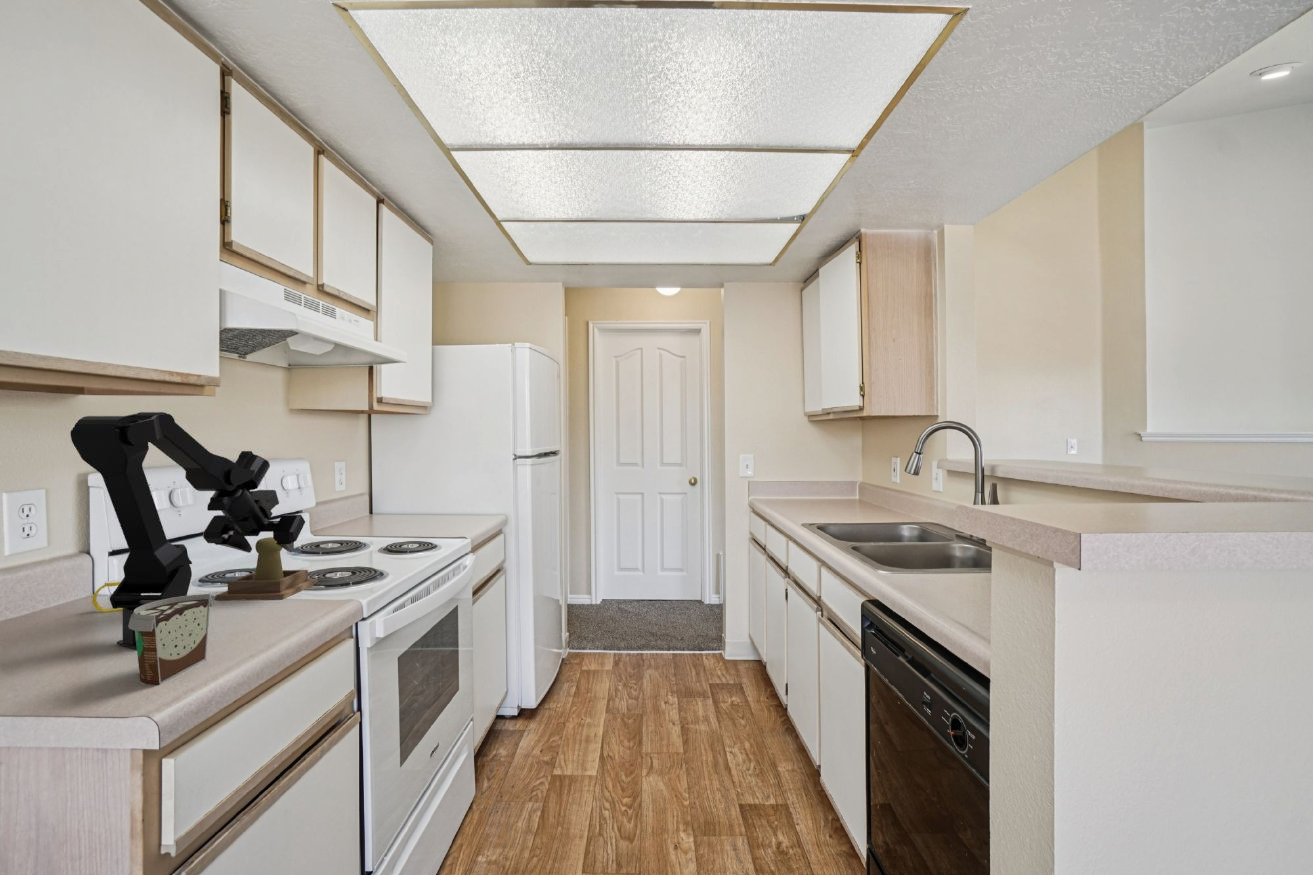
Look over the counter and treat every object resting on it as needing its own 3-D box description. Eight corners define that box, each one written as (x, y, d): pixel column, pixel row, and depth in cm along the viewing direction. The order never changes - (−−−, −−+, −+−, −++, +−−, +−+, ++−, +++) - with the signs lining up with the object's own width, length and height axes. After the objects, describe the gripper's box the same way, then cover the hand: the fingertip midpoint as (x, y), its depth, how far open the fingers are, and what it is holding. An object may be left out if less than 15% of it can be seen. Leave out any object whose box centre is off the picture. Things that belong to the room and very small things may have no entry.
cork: (247, 590, 129) (247, 540, 129) (261, 583, 135) (261, 535, 135) (276, 589, 130) (277, 539, 130) (290, 583, 136) (290, 535, 136)
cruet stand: (283, 599, 126) (283, 582, 126) (215, 599, 126) (215, 583, 126) (317, 583, 140) (317, 568, 140) (257, 583, 140) (257, 569, 140)
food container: (171, 657, 93) (171, 593, 93) (212, 656, 93) (212, 592, 93) (103, 690, 80) (103, 617, 80) (151, 689, 81) (151, 616, 81)
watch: (133, 608, 121) (136, 579, 121) (130, 611, 118) (133, 581, 119) (93, 610, 117) (96, 580, 118) (90, 614, 115) (93, 583, 115)
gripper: (300, 478, 129) (326, 521, 140) (212, 478, 128) (245, 522, 139) (279, 519, 121) (308, 562, 132) (184, 519, 120) (222, 562, 131)
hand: (271, 550), depth 134 cm, fingers open, 9 cm apart
